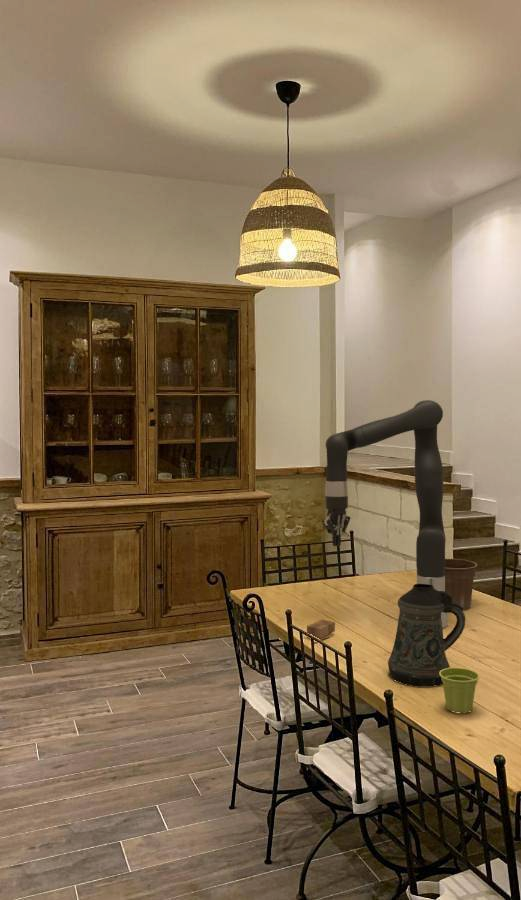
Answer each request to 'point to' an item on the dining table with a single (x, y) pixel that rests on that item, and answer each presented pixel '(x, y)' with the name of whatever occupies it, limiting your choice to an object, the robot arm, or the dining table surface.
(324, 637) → the shard
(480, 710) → the dining table surface
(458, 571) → the plant pot
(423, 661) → the beer stein
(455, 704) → the plant pot
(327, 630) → the walnut slab
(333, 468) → the robot arm
